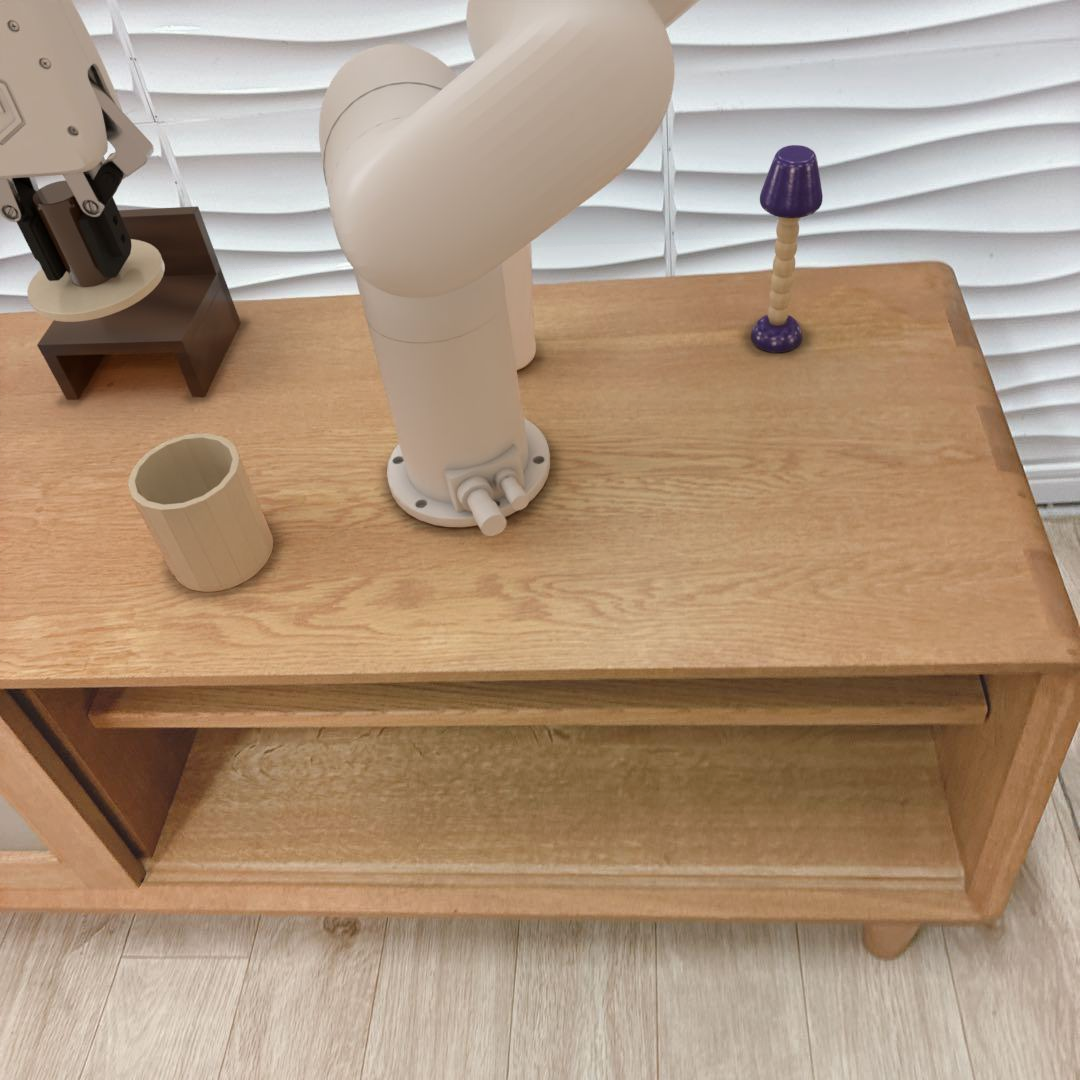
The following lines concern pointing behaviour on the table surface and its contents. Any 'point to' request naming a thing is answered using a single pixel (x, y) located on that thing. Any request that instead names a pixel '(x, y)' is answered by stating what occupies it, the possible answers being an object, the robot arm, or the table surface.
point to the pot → (202, 511)
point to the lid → (86, 266)
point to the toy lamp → (786, 239)
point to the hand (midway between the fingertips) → (90, 264)
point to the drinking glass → (520, 304)
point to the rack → (156, 310)
